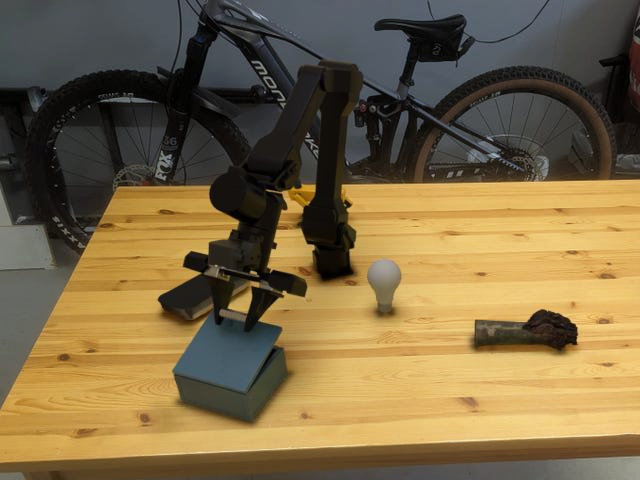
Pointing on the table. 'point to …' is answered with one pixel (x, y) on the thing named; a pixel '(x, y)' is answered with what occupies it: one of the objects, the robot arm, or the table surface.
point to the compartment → (236, 401)
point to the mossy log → (528, 331)
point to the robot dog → (311, 195)
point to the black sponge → (194, 297)
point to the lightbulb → (384, 282)
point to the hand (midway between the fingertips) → (231, 328)
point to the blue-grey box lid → (228, 351)
